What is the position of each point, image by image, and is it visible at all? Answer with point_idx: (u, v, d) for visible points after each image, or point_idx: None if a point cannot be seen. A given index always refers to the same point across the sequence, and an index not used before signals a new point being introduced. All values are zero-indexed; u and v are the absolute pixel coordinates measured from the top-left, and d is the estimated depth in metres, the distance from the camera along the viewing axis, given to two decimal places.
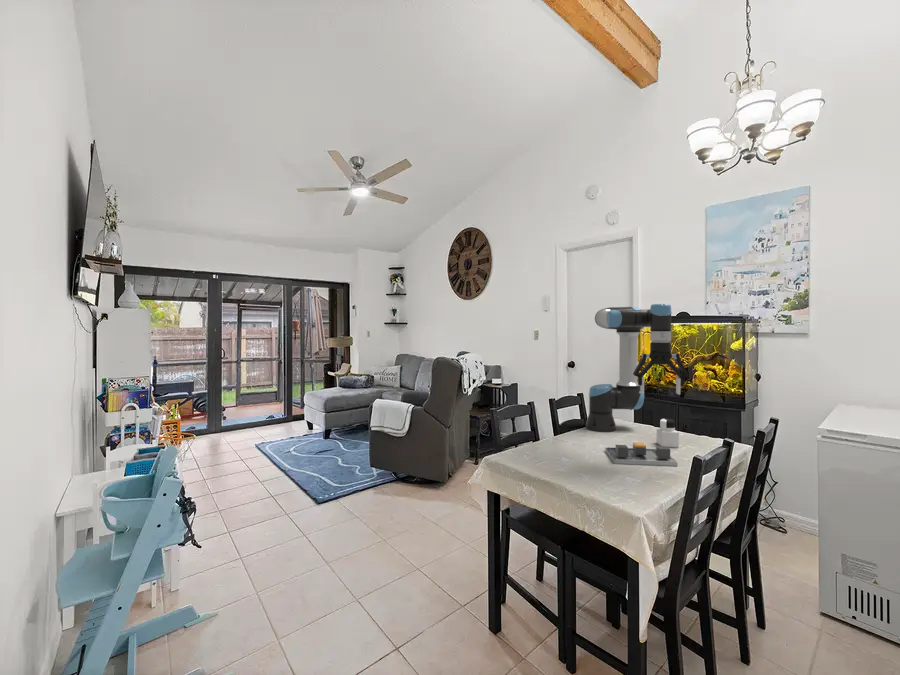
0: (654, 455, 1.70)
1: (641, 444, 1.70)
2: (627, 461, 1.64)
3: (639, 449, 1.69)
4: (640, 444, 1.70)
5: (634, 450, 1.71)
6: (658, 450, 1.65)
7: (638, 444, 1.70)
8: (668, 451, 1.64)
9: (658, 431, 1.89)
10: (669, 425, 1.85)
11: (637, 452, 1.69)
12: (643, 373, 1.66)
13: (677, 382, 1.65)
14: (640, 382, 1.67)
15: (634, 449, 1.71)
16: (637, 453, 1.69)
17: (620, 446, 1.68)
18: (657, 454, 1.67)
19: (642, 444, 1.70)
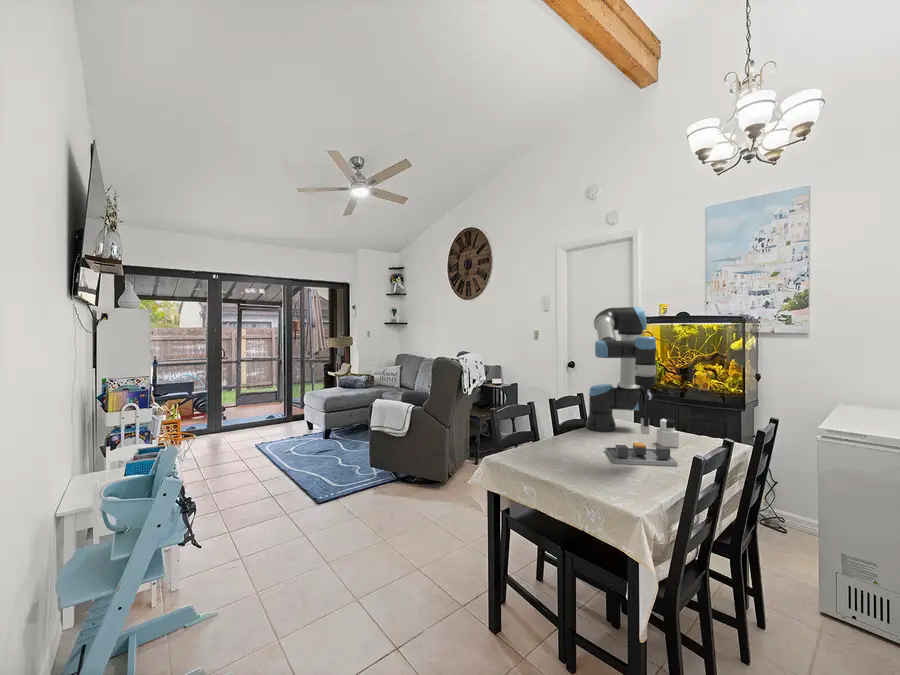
0: (654, 455, 1.70)
1: (641, 444, 1.70)
2: (627, 461, 1.64)
3: (639, 449, 1.69)
4: (640, 444, 1.70)
5: (634, 450, 1.71)
6: (658, 450, 1.65)
7: (638, 444, 1.70)
8: (668, 451, 1.64)
9: (658, 431, 1.89)
10: (669, 425, 1.85)
11: (637, 452, 1.69)
12: (640, 411, 1.65)
13: None
14: None
15: (634, 449, 1.71)
16: (637, 453, 1.69)
17: (620, 446, 1.68)
18: (657, 454, 1.67)
19: (642, 444, 1.70)
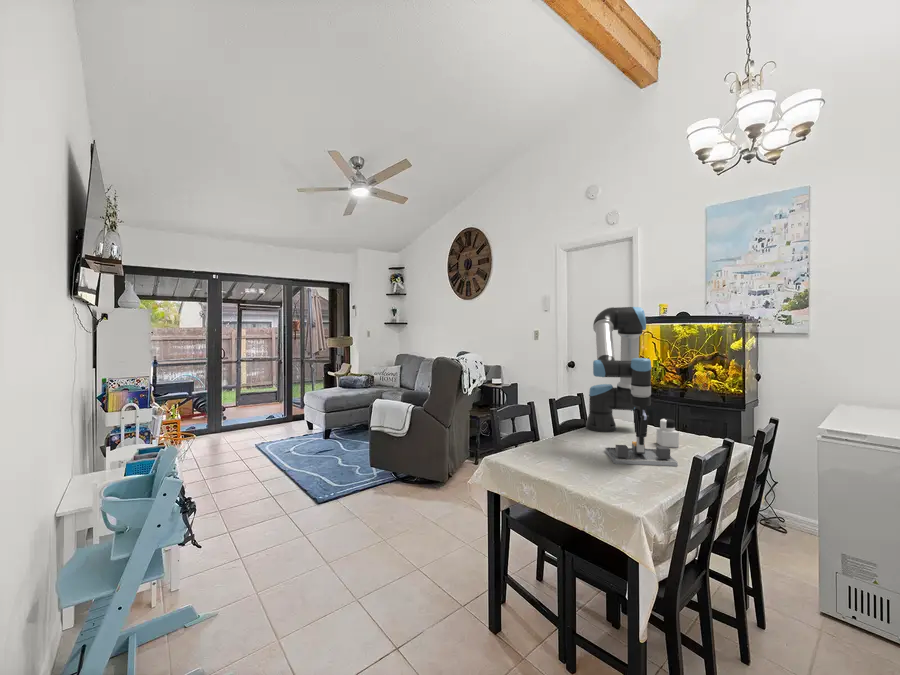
0: (654, 455, 1.70)
1: None
2: (627, 461, 1.64)
3: None
4: None
5: (633, 449, 1.72)
6: (658, 450, 1.65)
7: None
8: (668, 451, 1.64)
9: (658, 431, 1.89)
10: (669, 425, 1.85)
11: (636, 451, 1.71)
12: (636, 430, 1.71)
13: None
14: None
15: (633, 448, 1.72)
16: (636, 452, 1.71)
17: (620, 446, 1.68)
18: (657, 454, 1.67)
19: None
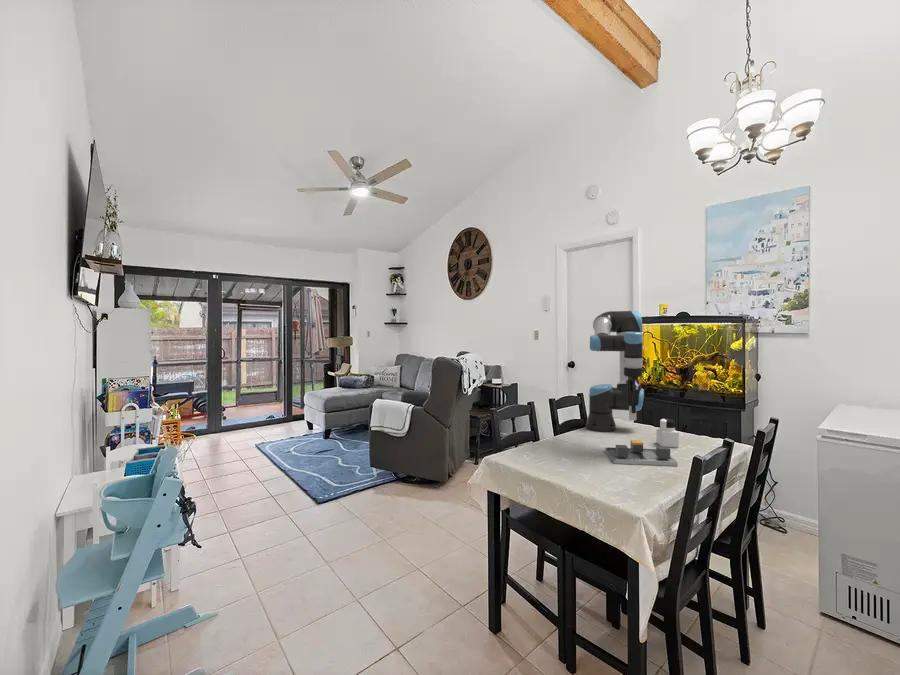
0: (654, 455, 1.70)
1: (638, 442, 1.74)
2: (627, 461, 1.64)
3: (636, 446, 1.72)
4: (637, 442, 1.74)
5: (632, 447, 1.74)
6: (658, 450, 1.65)
7: (636, 442, 1.74)
8: (668, 451, 1.64)
9: (658, 431, 1.89)
10: (669, 425, 1.85)
11: (635, 449, 1.73)
12: (629, 399, 1.82)
13: None
14: None
15: (632, 446, 1.74)
16: (635, 450, 1.73)
17: (620, 446, 1.68)
18: (657, 454, 1.67)
19: (639, 442, 1.74)
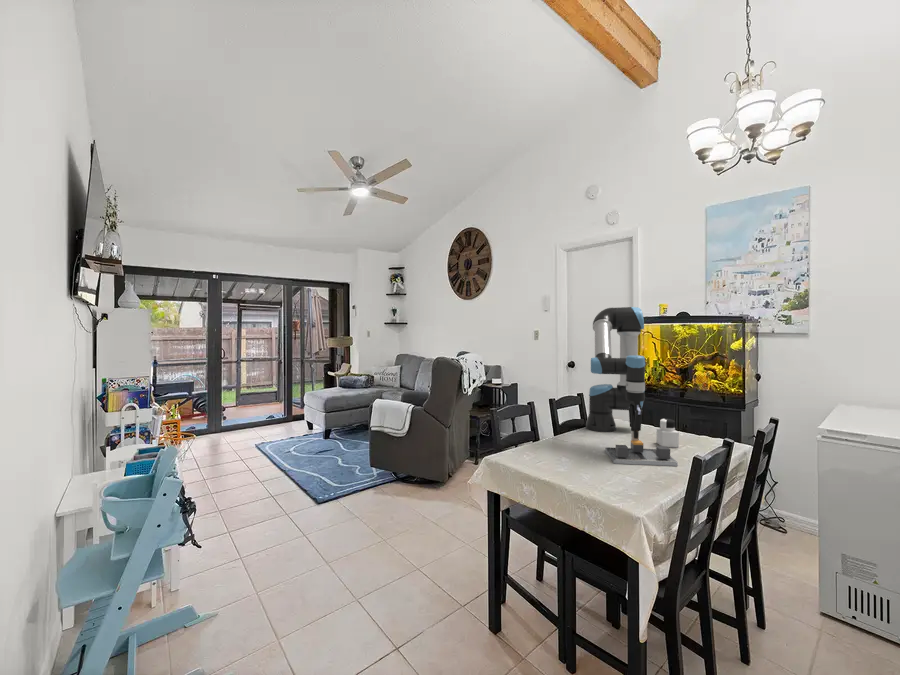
0: (654, 455, 1.70)
1: (639, 442, 1.73)
2: (627, 461, 1.64)
3: (637, 447, 1.72)
4: (638, 442, 1.73)
5: (632, 448, 1.74)
6: (658, 450, 1.65)
7: (636, 442, 1.74)
8: (668, 451, 1.64)
9: (658, 431, 1.89)
10: (669, 425, 1.85)
11: (635, 449, 1.72)
12: (631, 424, 1.78)
13: None
14: None
15: (632, 447, 1.74)
16: (635, 450, 1.72)
17: (620, 446, 1.68)
18: (657, 454, 1.67)
19: (640, 442, 1.73)
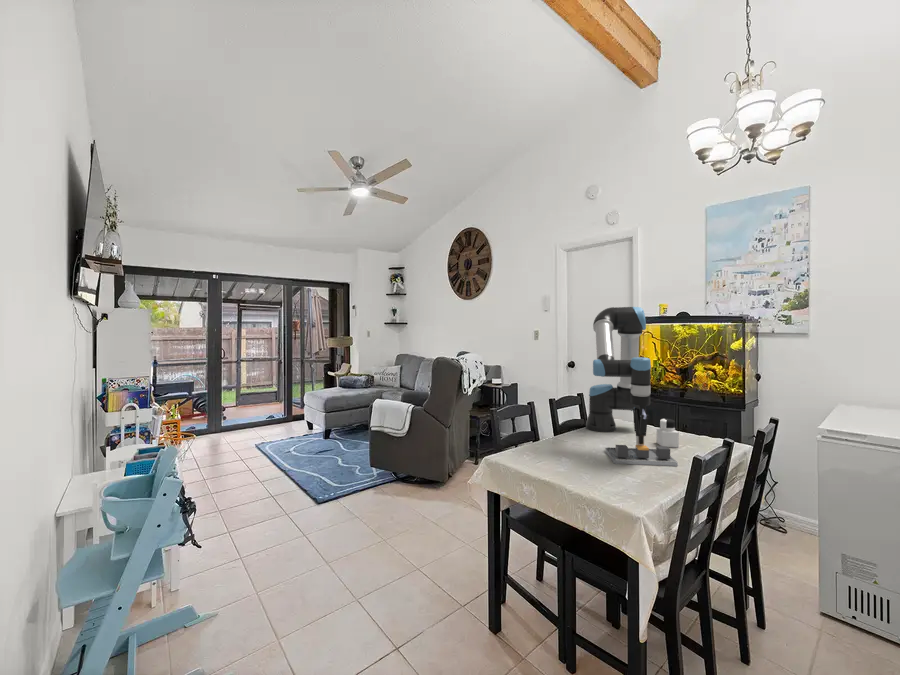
0: (654, 455, 1.70)
1: (644, 447, 1.67)
2: (627, 461, 1.64)
3: (642, 452, 1.65)
4: (643, 447, 1.67)
5: (637, 453, 1.67)
6: (658, 450, 1.65)
7: (641, 447, 1.67)
8: (668, 451, 1.64)
9: (658, 431, 1.89)
10: (669, 425, 1.85)
11: (640, 455, 1.66)
12: (636, 429, 1.71)
13: None
14: None
15: (637, 452, 1.67)
16: (640, 456, 1.66)
17: (620, 446, 1.68)
18: (657, 454, 1.67)
19: (645, 447, 1.67)
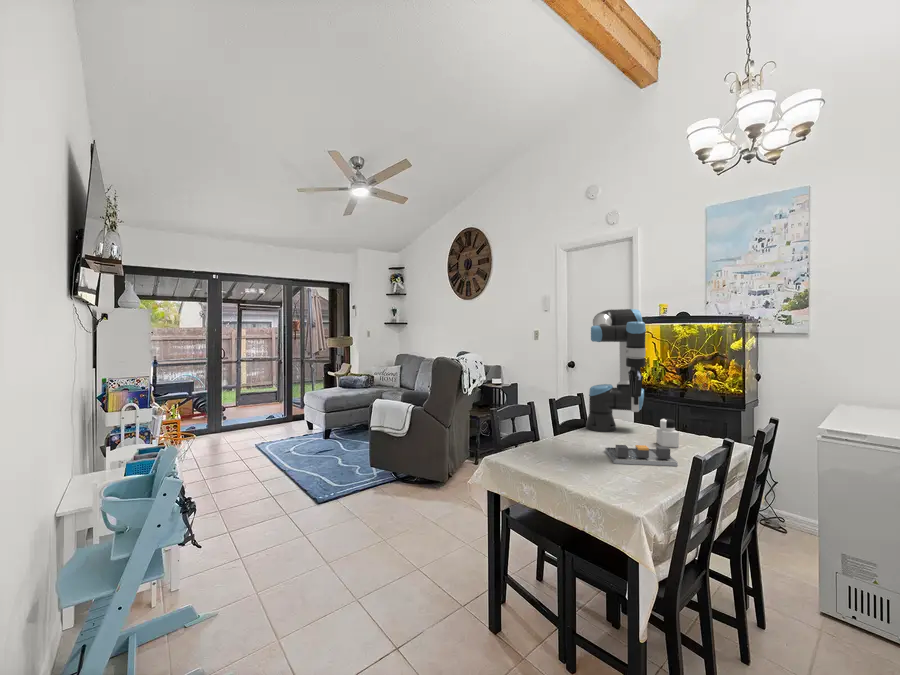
0: (654, 455, 1.70)
1: (644, 447, 1.67)
2: (627, 461, 1.64)
3: (642, 452, 1.65)
4: (643, 447, 1.67)
5: (637, 453, 1.67)
6: (658, 450, 1.65)
7: (641, 447, 1.67)
8: (668, 451, 1.64)
9: (658, 431, 1.89)
10: (669, 425, 1.85)
11: (640, 455, 1.66)
12: (631, 391, 1.78)
13: None
14: None
15: (637, 452, 1.67)
16: (640, 456, 1.66)
17: (620, 446, 1.68)
18: (657, 454, 1.67)
19: (645, 447, 1.67)
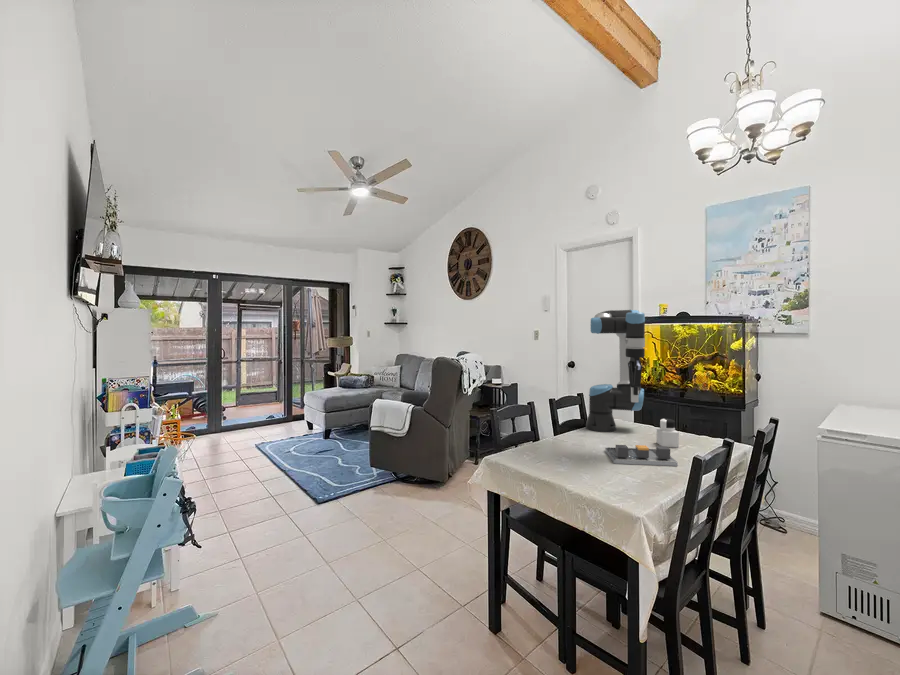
0: (654, 455, 1.70)
1: (644, 447, 1.67)
2: (627, 461, 1.64)
3: (642, 452, 1.65)
4: (643, 447, 1.67)
5: (637, 453, 1.67)
6: (658, 450, 1.65)
7: (641, 447, 1.67)
8: (668, 451, 1.64)
9: (658, 431, 1.89)
10: (669, 425, 1.85)
11: (640, 455, 1.66)
12: (631, 381, 1.78)
13: None
14: None
15: (637, 452, 1.67)
16: (640, 456, 1.66)
17: (620, 446, 1.68)
18: (657, 454, 1.67)
19: (645, 447, 1.67)
